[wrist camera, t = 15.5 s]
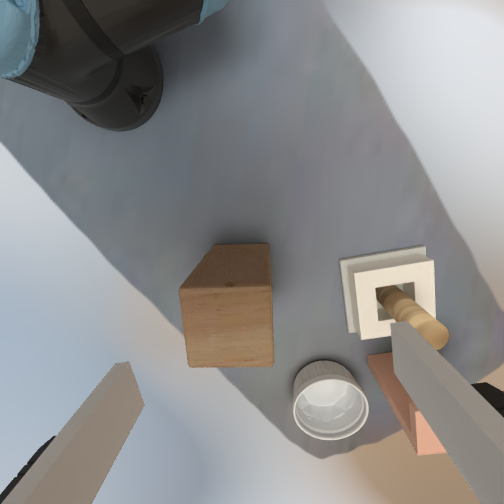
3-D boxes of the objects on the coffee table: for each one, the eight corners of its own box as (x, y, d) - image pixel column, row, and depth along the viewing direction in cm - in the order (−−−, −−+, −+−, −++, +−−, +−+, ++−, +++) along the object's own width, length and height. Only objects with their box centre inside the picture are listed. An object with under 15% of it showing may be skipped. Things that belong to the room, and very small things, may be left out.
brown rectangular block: (364, 332, 51) (415, 411, 34) (431, 322, 50) (519, 399, 33) (367, 364, 53) (417, 455, 35) (432, 355, 52) (517, 445, 34)
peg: (372, 283, 47) (414, 326, 34) (396, 279, 47) (448, 320, 34) (374, 304, 48) (416, 353, 35) (397, 300, 48) (449, 348, 35)
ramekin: (367, 395, 55) (381, 425, 48) (307, 418, 57) (313, 450, 50) (339, 343, 52) (350, 367, 45) (277, 370, 54) (279, 397, 47)
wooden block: (212, 244, 48) (176, 288, 29) (269, 242, 48) (271, 285, 28) (217, 296, 51) (187, 369, 31) (271, 295, 50) (274, 368, 31)
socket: (338, 259, 48) (346, 268, 43) (422, 245, 46) (440, 252, 42) (347, 330, 51) (355, 345, 46) (425, 318, 50) (442, 333, 45)
